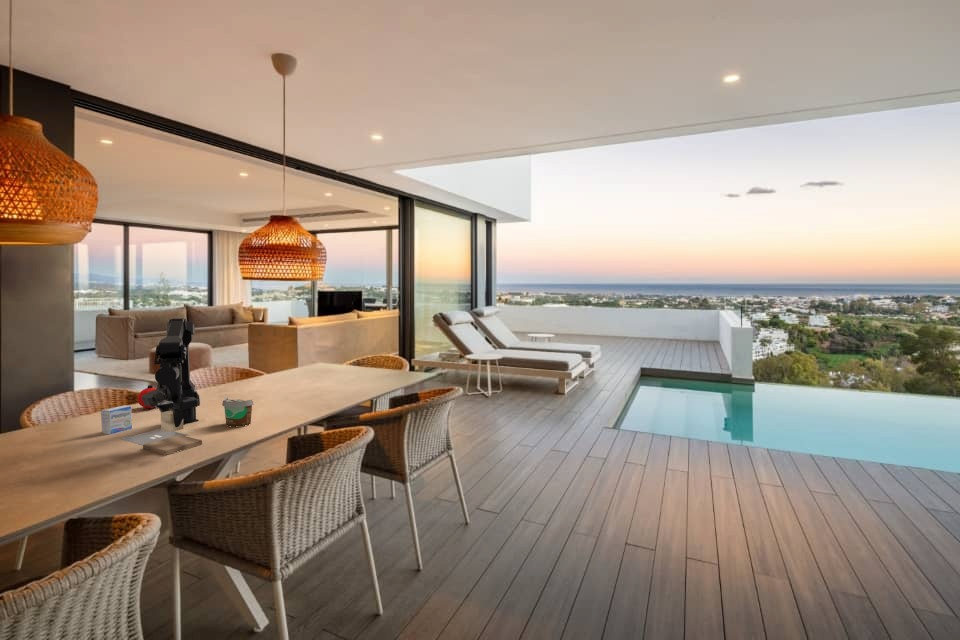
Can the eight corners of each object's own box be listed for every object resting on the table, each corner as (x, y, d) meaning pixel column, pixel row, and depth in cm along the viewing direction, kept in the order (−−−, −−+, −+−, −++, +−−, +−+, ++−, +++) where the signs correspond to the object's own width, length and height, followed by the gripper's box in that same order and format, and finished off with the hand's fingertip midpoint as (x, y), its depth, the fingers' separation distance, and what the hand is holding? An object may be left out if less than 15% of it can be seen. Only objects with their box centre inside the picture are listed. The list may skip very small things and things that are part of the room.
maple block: (175, 427, 162) (174, 409, 162) (183, 428, 161) (183, 411, 160) (161, 430, 158) (160, 412, 158) (169, 432, 156) (169, 414, 156)
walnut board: (179, 439, 168) (179, 434, 168) (202, 444, 163) (201, 440, 163) (143, 449, 157) (142, 444, 157) (165, 455, 152) (165, 450, 152)
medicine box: (110, 435, 171) (109, 411, 170) (101, 433, 172) (100, 409, 172) (132, 429, 178) (131, 405, 178) (123, 427, 180) (123, 404, 179)
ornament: (167, 407, 209) (166, 384, 208) (143, 412, 202) (143, 388, 201) (157, 404, 214) (156, 382, 213) (133, 408, 206) (133, 385, 206)
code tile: (161, 429, 179) (161, 428, 179) (188, 435, 172) (188, 434, 172) (119, 439, 166) (119, 438, 166) (147, 446, 159) (147, 446, 159)
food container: (214, 426, 183) (214, 400, 183) (226, 422, 189) (226, 397, 189) (242, 429, 181) (242, 403, 180) (253, 424, 186) (253, 399, 186)
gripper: (128, 380, 155) (129, 428, 156) (164, 386, 147) (165, 436, 148) (163, 375, 165) (164, 419, 166) (198, 380, 157) (199, 427, 158)
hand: (172, 425), depth 159 cm, fingers closed on maple block, 4 cm apart
